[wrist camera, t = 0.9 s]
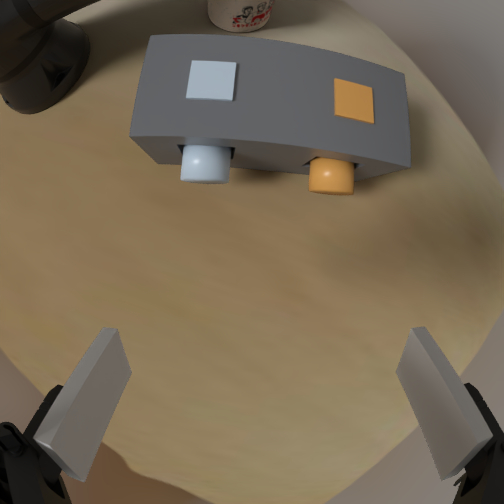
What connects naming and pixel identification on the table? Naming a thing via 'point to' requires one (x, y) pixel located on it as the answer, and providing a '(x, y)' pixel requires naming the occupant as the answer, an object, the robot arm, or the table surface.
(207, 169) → the pale blue button
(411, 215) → the table surface
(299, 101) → the button console
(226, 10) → the teacup with lid
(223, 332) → the table surface
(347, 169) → the orange button
